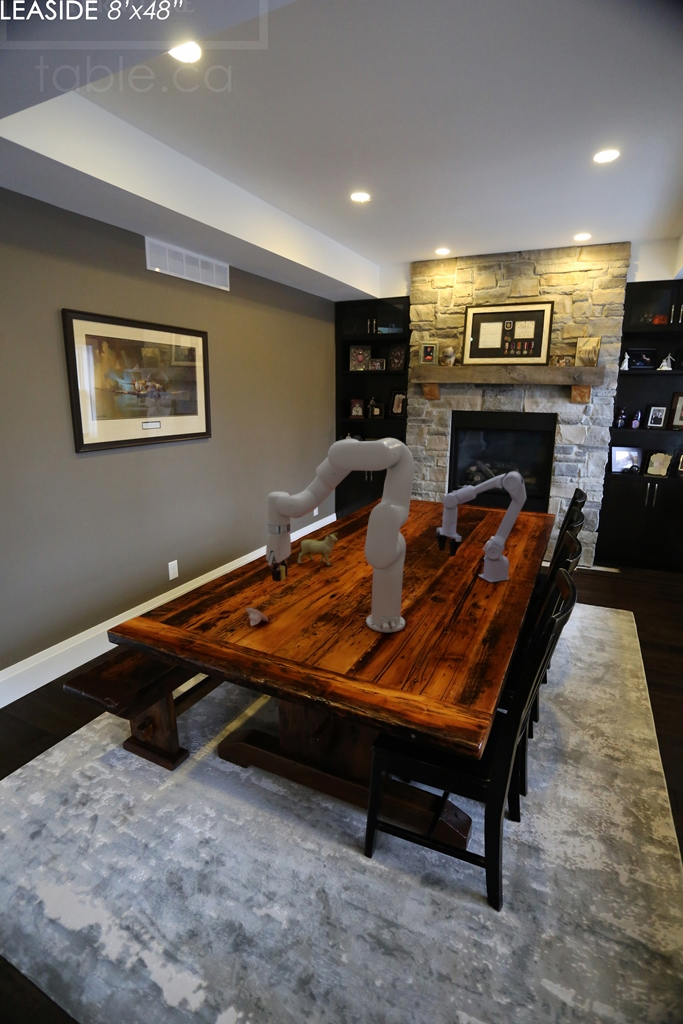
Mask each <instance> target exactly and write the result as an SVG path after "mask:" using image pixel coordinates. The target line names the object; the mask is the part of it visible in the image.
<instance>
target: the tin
mask: <svg viewBox="0 0 683 1024" xmlns="http://www.w3.org/2000/svg"><path fill="white" fill-rule="evenodd" d="M280 570H281V581H280V582H283V581H285V580H286V577H285V566H283V565H280Z"/></svg>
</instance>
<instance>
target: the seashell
mask: <svg viewBox="0 0 683 1024" xmlns="http://www.w3.org/2000/svg"><path fill="white" fill-rule="evenodd" d="M245 611H246V614H248V615H249V616H248V619H249V625H250V626H251V627H253V626H256V625H258V624H259V623H260V622H261V621H265V622H269V618H268V616H267V615H266V614H264V613H263V612H261V611H260V610H259V609H256V608H253V607H245Z"/></svg>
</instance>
